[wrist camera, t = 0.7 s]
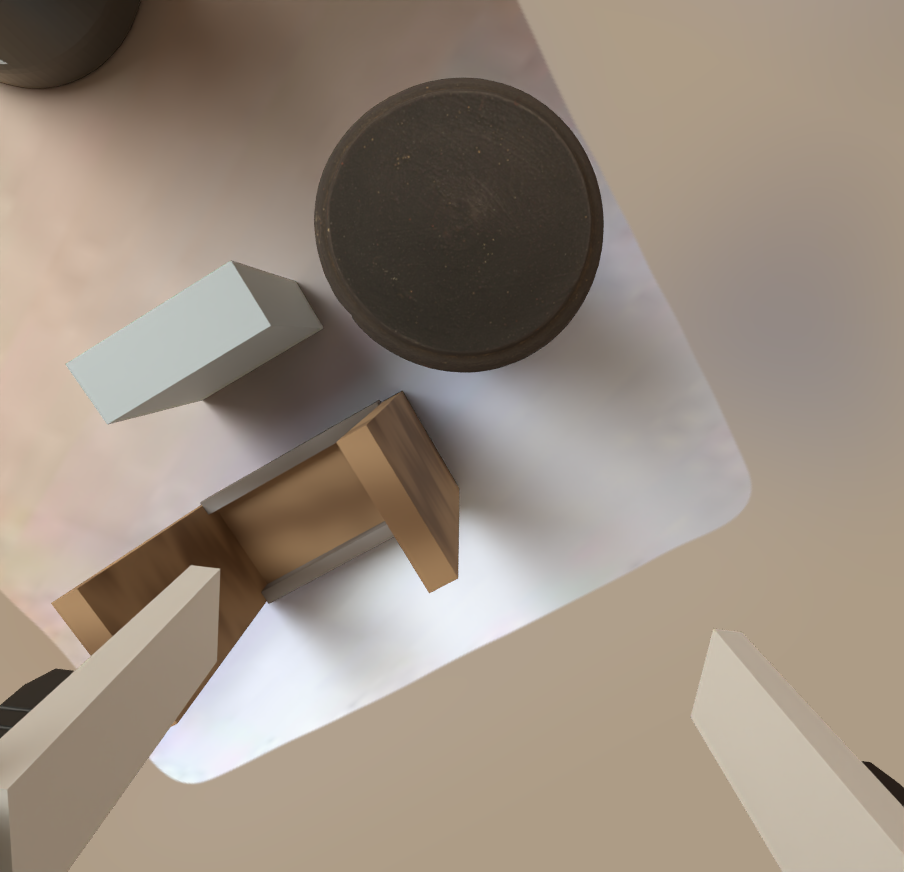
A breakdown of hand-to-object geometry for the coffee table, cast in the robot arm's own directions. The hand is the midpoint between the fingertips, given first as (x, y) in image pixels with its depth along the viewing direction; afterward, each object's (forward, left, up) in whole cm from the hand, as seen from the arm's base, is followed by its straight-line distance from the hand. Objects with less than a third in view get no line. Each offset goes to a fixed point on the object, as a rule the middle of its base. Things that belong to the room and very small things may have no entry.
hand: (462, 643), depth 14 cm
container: (-10, +5, -24) cm, 26 cm away
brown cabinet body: (-2, -10, -23) cm, 25 cm away
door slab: (-14, -9, -23) cm, 28 cm away
